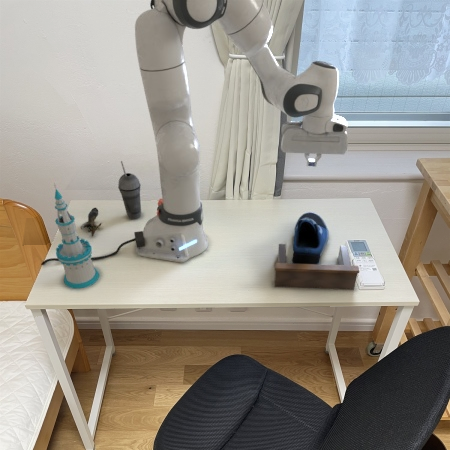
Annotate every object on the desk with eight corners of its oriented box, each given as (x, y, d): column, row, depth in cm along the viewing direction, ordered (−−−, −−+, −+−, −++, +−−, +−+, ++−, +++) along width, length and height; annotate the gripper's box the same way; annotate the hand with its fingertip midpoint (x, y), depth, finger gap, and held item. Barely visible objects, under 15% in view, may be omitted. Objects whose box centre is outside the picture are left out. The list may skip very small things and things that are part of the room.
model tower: (64, 269, 136) (35, 176, 116) (99, 264, 138) (75, 172, 118) (63, 290, 129) (31, 195, 109) (99, 285, 130) (74, 190, 110)
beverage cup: (143, 221, 155) (134, 166, 142) (122, 222, 155) (111, 166, 142) (146, 210, 161) (138, 156, 147) (125, 210, 161) (116, 156, 148)
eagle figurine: (109, 230, 150) (103, 212, 155) (94, 218, 144) (89, 200, 149) (92, 243, 151) (87, 225, 156) (76, 232, 146) (71, 214, 151)
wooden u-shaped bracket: (273, 287, 129) (274, 268, 124) (273, 257, 139) (274, 238, 135) (355, 290, 127) (359, 271, 123) (348, 259, 138) (352, 240, 133)
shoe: (329, 224, 152) (334, 190, 144) (323, 280, 131) (329, 245, 123) (296, 220, 154) (300, 187, 146) (286, 275, 133) (289, 240, 124)
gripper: (282, 124, 134) (278, 169, 143) (352, 126, 133) (344, 171, 142) (281, 116, 139) (278, 160, 148) (350, 118, 138) (342, 162, 147)
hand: (311, 165), depth 145 cm, fingers closed
